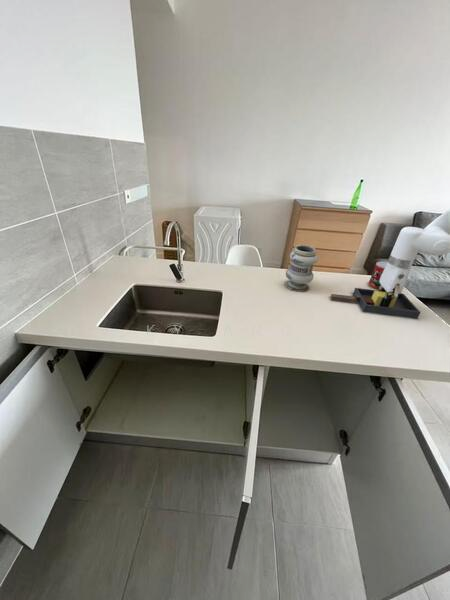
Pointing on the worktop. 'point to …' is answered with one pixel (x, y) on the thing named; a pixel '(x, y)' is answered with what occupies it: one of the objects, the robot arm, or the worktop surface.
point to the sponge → (378, 297)
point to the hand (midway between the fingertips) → (381, 303)
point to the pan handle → (345, 298)
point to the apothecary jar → (301, 267)
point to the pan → (400, 308)
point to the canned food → (377, 275)
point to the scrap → (369, 301)
